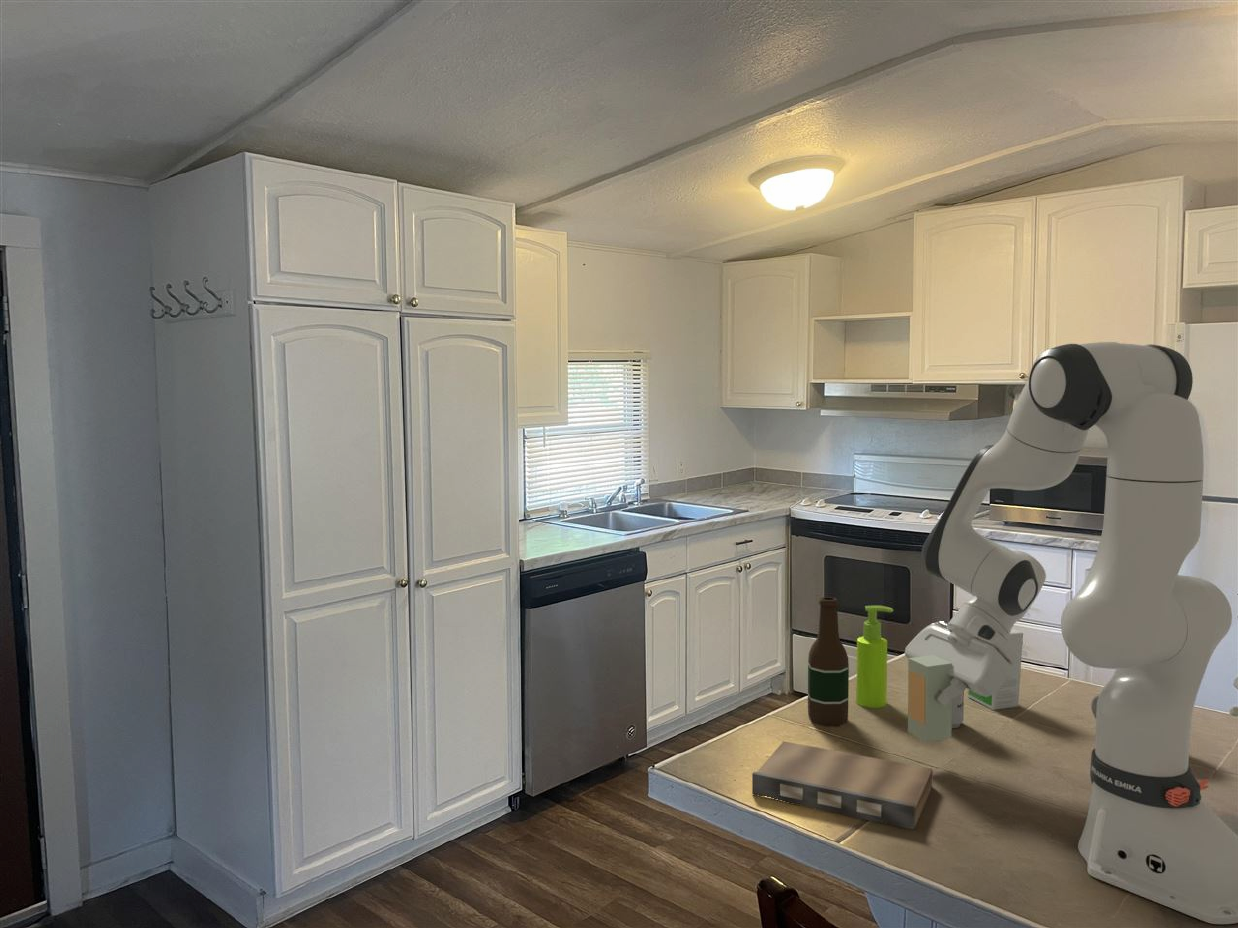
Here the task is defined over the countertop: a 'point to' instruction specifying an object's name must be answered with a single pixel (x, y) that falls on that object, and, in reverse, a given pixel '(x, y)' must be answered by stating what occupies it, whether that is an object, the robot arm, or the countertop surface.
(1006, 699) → the skincare box
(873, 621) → the soap dispenser
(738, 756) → the countertop surface
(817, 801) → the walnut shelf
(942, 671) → the sage carton
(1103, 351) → the robot arm
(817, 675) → the beer bottle
